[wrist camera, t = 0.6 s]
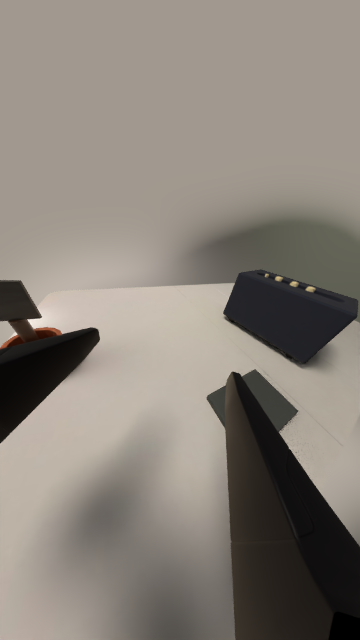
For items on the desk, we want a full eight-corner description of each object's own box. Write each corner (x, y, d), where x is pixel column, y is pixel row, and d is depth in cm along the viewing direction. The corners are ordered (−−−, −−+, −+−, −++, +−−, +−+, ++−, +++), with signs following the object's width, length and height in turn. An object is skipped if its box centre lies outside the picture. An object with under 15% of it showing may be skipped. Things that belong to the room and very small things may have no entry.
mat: (246, 462, 16) (249, 461, 15) (206, 398, 21) (207, 395, 21) (294, 413, 21) (298, 411, 21) (252, 371, 27) (255, 369, 26)
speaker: (311, 346, 36) (362, 296, 28) (299, 368, 29) (363, 311, 20) (241, 308, 49) (261, 266, 40) (220, 317, 42) (240, 269, 33)
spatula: (65, 363, 22) (16, 283, 14) (26, 370, 21) (-54, 283, 12) (67, 356, 23) (23, 278, 15) (31, 362, 22) (-40, 278, 13)
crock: (40, 390, 19) (18, 367, 16) (11, 372, 20) (-14, 348, 17) (82, 357, 24) (71, 335, 21) (57, 345, 25) (43, 322, 22)
